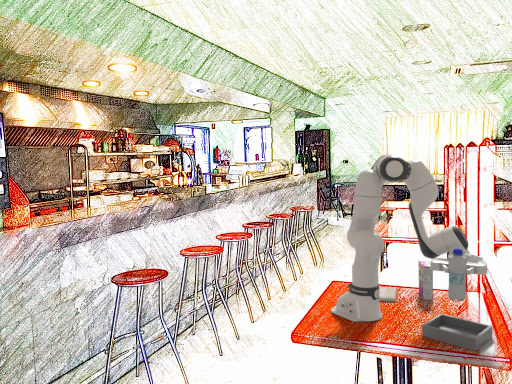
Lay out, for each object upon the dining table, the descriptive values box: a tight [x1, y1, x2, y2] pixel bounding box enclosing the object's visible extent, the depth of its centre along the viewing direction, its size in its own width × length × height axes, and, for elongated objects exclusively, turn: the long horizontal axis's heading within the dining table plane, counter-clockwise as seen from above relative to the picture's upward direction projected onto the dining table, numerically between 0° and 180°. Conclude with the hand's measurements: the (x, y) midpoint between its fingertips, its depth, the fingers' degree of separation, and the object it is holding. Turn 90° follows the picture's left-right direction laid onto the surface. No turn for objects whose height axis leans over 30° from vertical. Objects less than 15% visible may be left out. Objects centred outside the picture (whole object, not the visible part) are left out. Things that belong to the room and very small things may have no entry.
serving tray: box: [421, 313, 493, 352], centre depth 175 cm, size 20×16×4 cm
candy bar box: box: [417, 260, 434, 301], centre depth 221 cm, size 11×5×16 cm, turn 170°
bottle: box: [447, 248, 467, 303], centre depth 173 cm, size 7×7×20 cm
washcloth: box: [379, 285, 398, 303], centre depth 225 cm, size 12×18×3 cm, turn 162°
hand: (457, 271), depth 172 cm, fingers closed on bottle, 6 cm apart
